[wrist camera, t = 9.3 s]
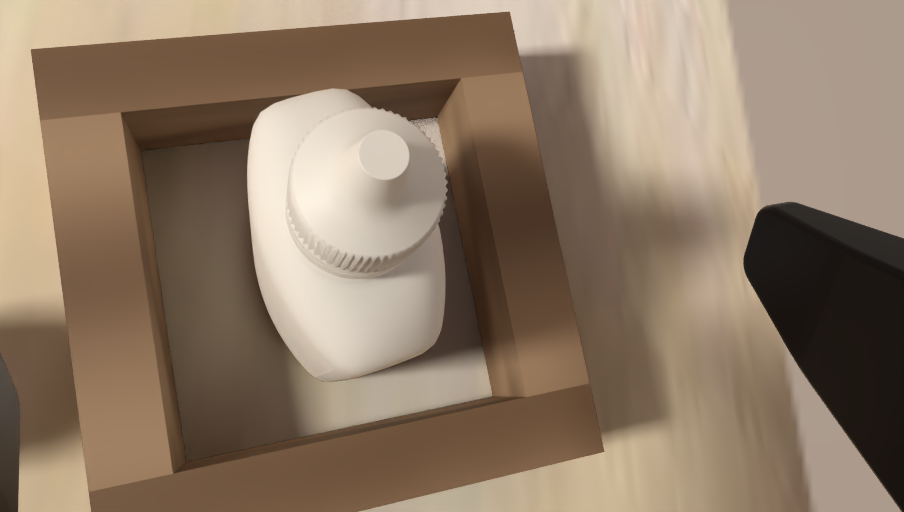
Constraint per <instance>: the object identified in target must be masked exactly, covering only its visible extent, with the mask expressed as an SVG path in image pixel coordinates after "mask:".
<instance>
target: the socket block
mask: <svg viewBox="0 0 904 512" xmlns="http://www.w3.org/2000/svg"><path fill="white" fill-rule="evenodd" d="M31 54H32V62H33V70H34V77H35V85H36V93H37V100H38V108H39V115H40V123H41V131H42V138H43V146H44V154H45V161H46V169H47V177H48V184H49V192H50V200H51V207H52V215H53V222H54V230H55V238H56V245H57V253H58V261H59V268H60V276H61V284H62V291H63V299H64V306H65V314H66V322H67V329H68V337H69V345H70V352H71V360H72V368H73V375H74V383H75V391H76V398H77V406H78V413H79V421H80V429H81V436H82V444H83V452H84V459H85V467H86V475H87V482H88V490H89V498H90V505H91V512H358V511H362V510H366V509H371V508H375V507H379V506H383V505H387V504H391V503H395V502H399V501H403V500H408V499H412V498H416V497H420V496H424V495H428V494H432V493H436V492H441V491H445V490H449V489H453V488H457V487H461V486H465V485H469V484H473V483H478V482H482V481H486V480H490V479H494V478H498V477H502V476H506V475H510V474H515V473H519V472H523V471H527V470H531V469H535V468H539V467H543V466H548V465H552V464H556V463H560V462H564V461H568V460H572V459H576V458H580V457H585V456H589V455H593V454H597V453H601V452H604V448H603V443H602V439H601V434H600V429H599V425H598V420H597V415H596V411H595V406H594V402H593V397H592V392H591V388H590V383H589V378H588V374H587V369H586V364H585V360H584V355H583V350H582V346H581V341H580V336H579V332H578V327H577V322H576V318H575V313H574V309H573V304H572V299H571V295H570V290H569V285H568V281H567V276H566V271H565V267H564V262H563V257H562V253H561V248H560V243H559V239H558V234H557V229H556V225H555V220H554V216H553V211H552V206H551V202H550V197H549V192H548V188H547V183H546V178H545V174H544V169H543V164H542V160H541V155H540V150H539V146H538V141H537V137H536V132H535V127H534V123H533V118H532V113H531V109H530V104H529V99H528V95H527V90H526V85H525V81H524V76H523V71H522V67H521V62H520V57H519V53H518V48H517V44H516V39H515V34H514V30H513V25H512V20H511V16H510V12H500V13H487V14H474V15H461V16H449V17H436V18H423V19H411V20H398V21H385V22H372V23H360V24H347V25H334V26H322V27H309V28H296V29H284V30H271V31H258V32H245V33H233V34H220V35H207V36H195V37H182V38H169V39H156V40H144V41H131V42H118V43H106V44H93V45H80V46H67V47H55V48H42V49H31ZM332 88H334V89H346V90H348V91H350V92H352V93H354V94H356V95H358V96H360V97H361V98H362V99H363V100H364V101H365V102H366V103H368V104H369V105H370V106H371V107H372V108H374V107H375V108H377V109H378V110H380V109H382V108H383V109H384V110H385V111H386V112H387V111H392V112H393V114H399V115H400V116H401V117H406V118H407V120H413V119H421V118H430V117H437V118H438V123H439V128H440V133H441V138H442V143H443V148H444V153H445V158H446V163H447V168H448V173H449V178H450V183H451V188H452V193H453V198H454V203H455V208H456V213H457V218H458V223H459V228H460V233H461V238H462V243H463V248H464V253H465V258H466V263H467V268H468V273H469V278H470V283H471V289H472V294H473V299H474V304H475V309H476V314H477V319H478V324H479V329H480V334H481V339H482V344H483V349H484V354H485V359H486V364H487V369H488V374H489V379H490V384H491V389H492V394H493V397H488V398H483V399H479V400H474V401H469V402H465V403H460V404H455V405H451V406H446V407H441V408H436V409H432V410H427V411H422V412H418V413H413V414H408V415H404V416H399V417H394V418H390V419H385V420H380V421H376V422H371V423H366V424H362V425H357V426H352V427H348V428H343V429H338V430H334V431H329V432H324V433H320V434H315V435H310V436H306V437H301V438H296V439H292V440H287V441H282V442H278V443H273V444H268V445H264V446H259V447H254V448H250V449H245V450H240V451H235V452H231V453H226V454H221V455H217V456H212V457H207V458H203V459H198V460H193V461H189V462H186V456H185V450H184V443H183V436H182V429H181V423H180V416H179V409H178V402H177V395H176V389H175V382H174V375H173V368H172V361H171V355H170V348H169V341H168V334H167V327H166V321H165V314H164V307H163V300H162V293H161V287H160V280H159V273H158V266H157V260H156V253H155V246H154V239H153V232H152V226H151V219H150V212H149V205H148V198H147V192H146V185H145V178H144V171H143V164H142V158H141V151H140V150H147V149H156V148H165V147H174V146H183V145H191V144H200V143H209V142H218V141H227V140H236V139H245V138H251V133H252V128H253V125H254V123H255V121H256V119H257V118H258V116H259V114H260V112H261V111H263V110H265V109H266V108H268V107H269V106H271V105H272V104H274V103H277V102H280V101H283V100H286V99H289V98H292V97H296V96H300V95H303V94H307V93H312V92H316V91H321V90H326V89H332Z"/></svg>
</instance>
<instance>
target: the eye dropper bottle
mask: <svg viewBox="0 0 904 512" xmlns="http://www.w3.org/2000/svg"><path fill="white" fill-rule="evenodd" d="M438 155H439V151H437V150H436V149H435V144H433V143H431V138H429V137H426V134H425V132H423V131H420V127H419V126H414V123H413V122H412V121H408V120H407V118H406V117H401V116H400V115H399V114H393V112H392V111H387V112H386V111H385V110H384V109H383V108H382V109H380V110H378V109H377V108H375V107H374V108H372V107H371V106H370V105H369V104H368V103H366V102H365V101H364V100H363V99H362V98H361V97H360V96H358V95H356V94H354V93H352V92H350V91H348V90H346V89H334V88H332V89H326V90H321V91H316V92H312V93H307V94H303V95H300V96H296V97H292V98H289V99H286V100H283V101H280V102H277V103H274V104H272V105H271V106H269V107H268V108H266V109H265V110H263V111H261V112H260V114H259V116H258V118H257V119H256V121H255V123H254V125H253V128H252V133H251V138H250V143H249V151H248V165H247V187H248V205H249V215H250V226H251V236H252V246H253V255H254V263H255V269H256V275H257V279H258V283H259V287H260V290H261V294H262V297H263V300H264V302H265V305H266V308H267V310H268V313H269V315H270V317H271V319H272V321H273V323H274V325H275V327H276V329H277V331H278V332H279V334H280V336H281V338H282V339H283V341H284V342H285V344H286V345H287V347H288V348H289V350H290V351H291V352H292V354H293V355H294V356H295V358H296V359H297V360H298V361H299V362H300V364H301V365H302V366H303V367H304V368H305V369H306V370H307V371H308V372H309V373H310V374H311V375H312V376H313V377H315V378H317V379H319V380H321V381H323V382H334V381H342V380H348V379H353V378H357V377H360V376H363V375H367V374H370V373H373V372H376V371H379V370H382V369H385V368H387V367H390V366H393V365H396V364H398V363H401V362H404V361H406V360H409V359H411V358H414V357H416V356H418V355H421V354H423V353H424V352H425V351H427V350H428V349H429V348H430V347H432V346H433V345H434V344H435V343H436V341H437V338H438V336H439V334H440V332H441V329H442V323H443V317H444V306H445V281H446V279H445V262H444V253H443V245H442V239H441V233H440V228H439V224H438V223H439V222H440V217H441V216H442V215H443V209H444V208H445V207H446V205H445V203H444V202H445V201H446V199H447V197H446V192H447V191H448V189H447V188H446V184H447V183H448V182H447V180H446V179H445V177H446V175H447V174H446V173H445V172H444V168H445V166H444V165H443V164H442V163H441V162H442V160H443V159H442V158H441V157H439V156H438Z"/></svg>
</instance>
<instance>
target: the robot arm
mask: <svg viewBox="0 0 904 512" xmlns="http://www.w3.org/2000/svg"><path fill="white" fill-rule="evenodd" d="M743 264H744V270H745V273H746V276H747V278H748V280H749V282H750V283H751V285H752V287H753V289H754V290H755V292H756V294H757V295H758V297H759V299H760V301H761V302H762V304H763V306H764V308H765V309H766V311H767V313H768V315H769V316H770V318H771V320H772V322H773V323H774V325H775V327H776V329H777V330H778V332H779V334H780V336H781V337H782V339H783V341H784V343H785V344H786V346H787V348H788V350H789V351H790V353H791V355H792V356H793V358H794V360H795V361H796V363H797V365H798V366H799V368H800V369H801V371H802V372H803V374H804V375H805V377H806V378H807V380H808V381H809V383H810V384H811V386H812V387H813V388H814V389H815V391H816V392H817V394H818V395H819V396H820V398H821V399H822V401H823V402H824V404H825V405H826V406H827V408H828V409H829V411H830V412H831V413H832V415H833V416H834V418H835V419H836V420H837V422H838V423H839V425H840V426H841V427H842V429H843V430H844V432H845V433H846V434H847V436H848V437H849V439H850V440H851V441H852V443H853V444H854V446H855V447H856V448H857V450H858V451H859V453H860V454H861V455H862V457H863V458H864V459H865V461H866V462H867V464H868V465H869V466H870V468H871V469H872V471H873V472H874V473H875V475H876V476H877V478H878V479H879V481H880V482H881V483H882V485H883V486H884V488H885V489H886V490H887V492H888V493H889V495H890V496H891V497H892V499H893V500H894V502H895V503H896V504H897V506H898V507H899V509H900V510H901V511H902V512H904V238H901V237H898V236H894V235H892V234H889V233H886V232H882V231H879V230H877V229H874V228H870V227H867V226H865V225H861V224H859V223H856V222H853V221H850V220H847V219H844V218H841V217H838V216H835V215H832V214H829V213H826V212H823V211H820V210H817V209H814V208H811V207H808V206H805V205H802V204H799V203H795V202H785V203H780V204H773V205H767V206H765V207H763V208H762V209H761V210H760V211H759V212H758V214H757V216H756V219H755V222H754V225H753V228H752V232H751V235H750V238H749V241H748V245H747V248H746V251H745V254H744V262H743ZM19 447H20V404H19V398H18V394H17V391H16V388H15V386H14V384H13V381H12V379H11V377H10V375H9V372H8V370H7V368H6V365H5V363H4V361H3V358H2V356H1V354H0V512H18V490H19Z"/></svg>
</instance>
